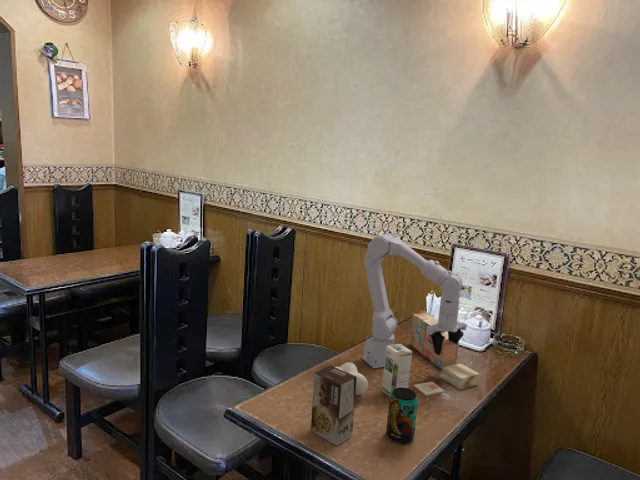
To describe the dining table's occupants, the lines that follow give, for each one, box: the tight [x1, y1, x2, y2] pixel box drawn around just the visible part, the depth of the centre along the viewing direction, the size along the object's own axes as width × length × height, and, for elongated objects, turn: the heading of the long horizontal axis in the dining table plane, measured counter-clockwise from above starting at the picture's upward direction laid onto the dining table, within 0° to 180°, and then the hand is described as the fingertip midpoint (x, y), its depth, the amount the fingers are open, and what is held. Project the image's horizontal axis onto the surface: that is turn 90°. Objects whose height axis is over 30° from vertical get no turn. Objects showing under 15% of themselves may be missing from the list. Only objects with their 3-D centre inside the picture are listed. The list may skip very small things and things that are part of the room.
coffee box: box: [310, 364, 357, 447], centre depth 118 cm, size 9×6×16 cm
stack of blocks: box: [410, 312, 460, 370], centre depth 170 cm, size 21×6×12 cm, turn 18°
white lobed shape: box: [334, 362, 369, 396], centre depth 138 cm, size 11×12×9 cm
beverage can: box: [385, 387, 419, 444], centre depth 119 cm, size 7×7×12 cm
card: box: [413, 381, 445, 396], centre depth 146 cm, size 7×6×1 cm
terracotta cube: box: [432, 339, 457, 361], centre depth 152 cm, size 5×5×5 cm
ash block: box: [441, 363, 480, 390], centre depth 152 cm, size 8×8×4 cm
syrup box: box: [381, 343, 413, 398], centre depth 140 cm, size 6×6×14 cm
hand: (444, 352), depth 152 cm, fingers closed on terracotta cube, 5 cm apart
